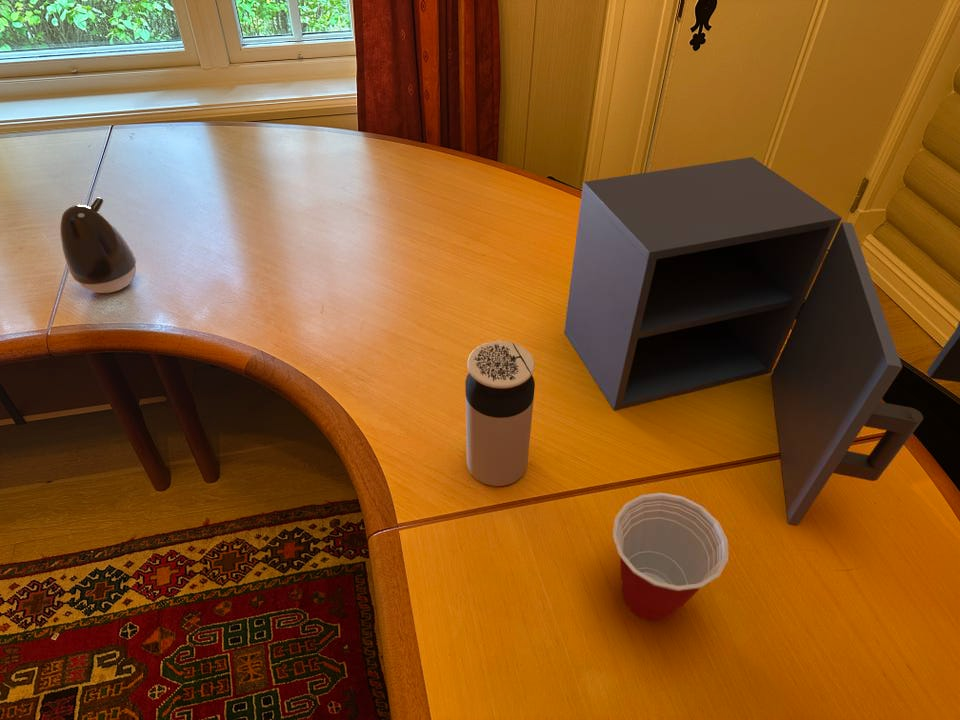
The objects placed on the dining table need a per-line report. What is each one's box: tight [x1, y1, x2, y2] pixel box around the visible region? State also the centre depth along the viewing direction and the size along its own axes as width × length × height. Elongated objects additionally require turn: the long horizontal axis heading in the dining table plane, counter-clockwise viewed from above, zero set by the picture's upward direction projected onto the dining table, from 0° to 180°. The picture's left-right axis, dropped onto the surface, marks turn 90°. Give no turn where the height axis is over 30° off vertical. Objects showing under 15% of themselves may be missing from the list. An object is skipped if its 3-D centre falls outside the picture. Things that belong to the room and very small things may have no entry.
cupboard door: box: [770, 221, 924, 526], centre depth 72 cm, size 7×26×26 cm, turn 165°
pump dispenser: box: [59, 197, 137, 294], centre depth 103 cm, size 10×10×15 cm
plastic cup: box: [612, 492, 729, 622], centre depth 62 cm, size 11×11×12 cm
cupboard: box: [563, 156, 843, 411], centre depth 86 cm, size 18×26×26 cm
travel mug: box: [464, 340, 536, 487], centre depth 73 cm, size 8×8×18 cm
